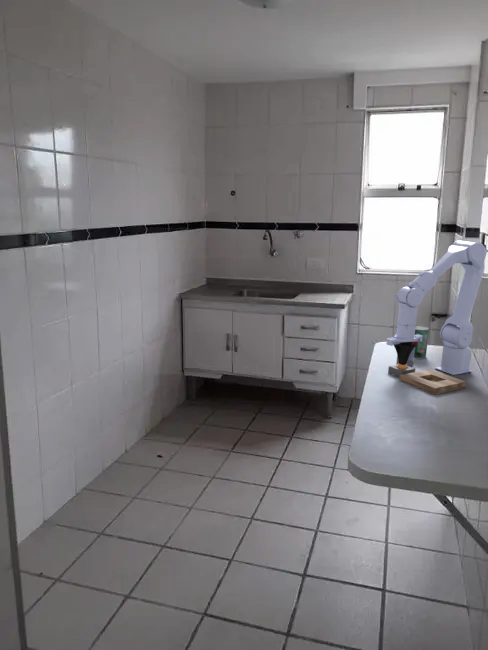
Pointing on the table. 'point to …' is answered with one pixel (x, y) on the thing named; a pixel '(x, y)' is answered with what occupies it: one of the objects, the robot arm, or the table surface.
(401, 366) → the button cap
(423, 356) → the canned tomato
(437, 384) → the wooden board
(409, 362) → the billet
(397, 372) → the button housing
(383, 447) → the table surface
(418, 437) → the table surface
